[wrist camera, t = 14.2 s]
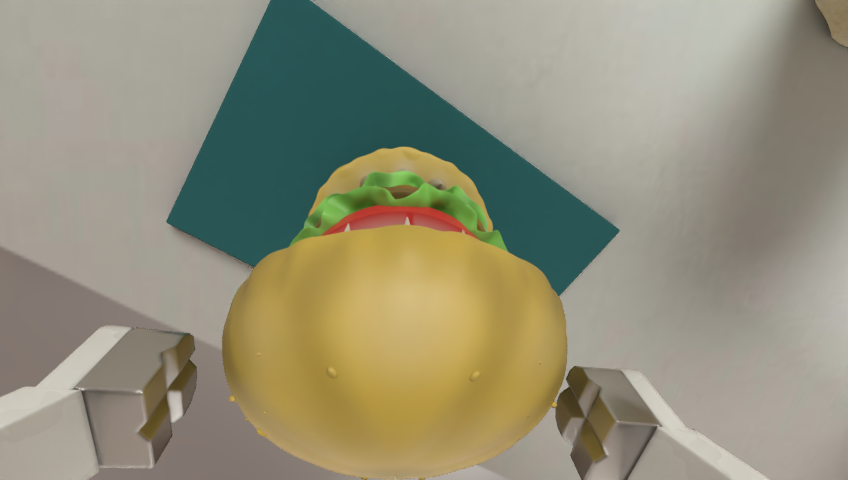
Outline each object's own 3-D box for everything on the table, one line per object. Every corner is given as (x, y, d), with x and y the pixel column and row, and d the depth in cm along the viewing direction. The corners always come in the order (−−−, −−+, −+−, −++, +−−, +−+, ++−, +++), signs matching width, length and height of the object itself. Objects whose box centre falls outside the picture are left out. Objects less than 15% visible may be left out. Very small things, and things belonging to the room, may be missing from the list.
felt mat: (170, 219, 16) (165, 222, 16) (283, -19, 13) (280, -22, 13) (478, 375, 21) (480, 381, 20) (616, 227, 17) (620, 230, 17)
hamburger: (506, 143, 15) (779, 358, 4) (479, 302, 18) (599, 672, 7) (300, 128, 14) (-7, 334, 4) (308, 295, 17) (152, 689, 6)
